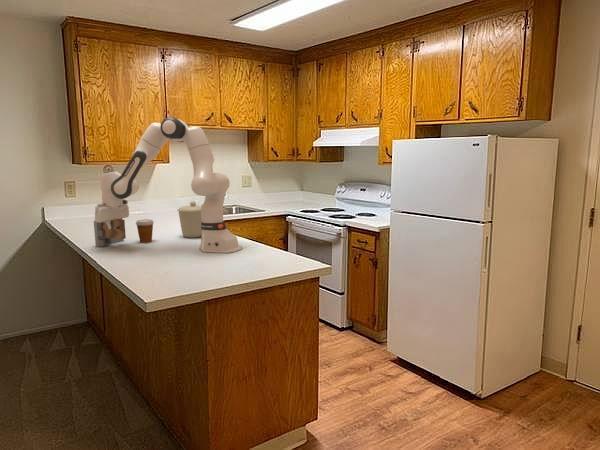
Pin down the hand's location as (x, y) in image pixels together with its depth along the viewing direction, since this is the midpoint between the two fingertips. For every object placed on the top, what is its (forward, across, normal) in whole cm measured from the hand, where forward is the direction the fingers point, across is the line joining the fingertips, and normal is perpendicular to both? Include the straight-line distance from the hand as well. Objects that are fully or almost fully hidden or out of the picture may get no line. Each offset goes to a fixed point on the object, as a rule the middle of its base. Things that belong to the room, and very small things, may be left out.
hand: (113, 228), depth 237 cm
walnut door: (+5, 0, 0) cm, 5 cm away
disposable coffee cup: (+10, +18, -5) cm, 21 cm away
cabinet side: (+10, +6, +8) cm, 14 cm away
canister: (+10, +41, -21) cm, 47 cm away
